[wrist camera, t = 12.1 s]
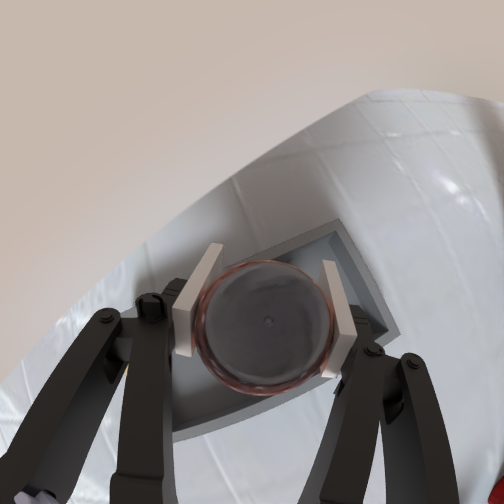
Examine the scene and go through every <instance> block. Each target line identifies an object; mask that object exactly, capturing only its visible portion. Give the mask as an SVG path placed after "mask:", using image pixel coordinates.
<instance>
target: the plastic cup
mask: <svg viewBox="0 0 504 504" xmlns="http://www.w3.org/2000/svg"><path fill="white" fill-rule="evenodd" d="M488 503H489V504H504V476H503V477H502V478H501V480H500V481H499V482H498V483H497V485H496V486H495V487H494V489H493V491H492V492H491V494H490V496H489V499H488Z"/></svg>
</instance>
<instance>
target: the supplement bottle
mask: <svg viewBox="0 0 504 504" xmlns="http://www.w3.org/2000/svg"><path fill="white" fill-rule="evenodd" d="M194 338H195V344H196V347H197V352H198V354H199V356H200V358H201V360H202V361H203V363H204V365H205V366H206V368H207V369H208V370H209V371H210V373H211V374H212V375H213V376H214V377H215V378H216V379H217V380H218V381H220V382H221V383H222V384H224V385H226V386H227V387H229V388H231V389H233V390H235V391H238V392H241V393H244V394H248V395H253V396H271V395H277V394H282V393H285V392H288V391H290V390H293V389H295V388H297V387H299V386H300V385H301V384H303V383H305V382H306V381H308V380H309V379H310V378H311V377H312V376H313V375H314V374H315V373H316V372H317V370H318V369H319V368H320V367H321V365H322V364H323V362H324V360H325V359H326V357H327V355H328V352H329V350H330V346H331V342H332V338H333V318H332V313H331V309H330V306H329V303H328V301H327V299H326V297H325V295H324V293H323V291H322V290H321V288H320V287H319V286H318V284H317V283H316V282H315V281H314V280H313V279H312V278H311V277H310V276H308V275H307V274H306V273H304V272H303V271H301V270H299V269H298V268H296V267H294V266H292V265H289V264H286V263H283V262H279V261H273V260H255V261H249V262H245V263H241V264H239V265H236V266H234V267H232V268H230V269H228V270H227V271H225V272H224V273H222V274H221V275H220V276H218V277H217V278H216V279H215V280H214V281H213V282H212V283H211V284H210V285H209V287H208V288H207V290H206V291H205V292H204V294H203V295H202V297H201V299H200V301H199V304H198V307H197V310H196V315H195V320H194Z"/></svg>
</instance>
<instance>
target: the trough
mask: <svg viewBox="0 0 504 504" xmlns="http://www.w3.org/2000/svg"><path fill="white" fill-rule="evenodd" d="M255 260H273V261H279V262H283V263H286V264H289V265H292V266H294V267H296V268H298V269H299V270H301V271H303V272H304V273H306V274H307V275H308V276H310V277H311V278H312V279H313V280H314V281H315V282H316V283H317V280H318V276H319V272H320V268H321V264H322V260H328V261H335V264H336V267H337V270H338V273H339V276H340V279H341V282H342V285H343V288H344V292H345V295H346V298H347V301H348V304H352V305H359V306H360V307H361V309H362V310H363V311H364V312H365V315H366V318H367V321H368V325H369V327H370V330H371V332H372V335H373V339H374V342H376V343H378V344H379V345H381V346H382V347H384V346H385V345H387V344H388V343H389V342H391V341H392V340H394V339H395V338H396V337H398V336H399V335H401V334H400V332H399V329H398V327H397V325H396V323H395V321H394V319H393V317H392V314H391V312H390V310H389V308H388V306H387V304H386V302H385V300H384V298H383V296H382V294H381V292H380V290H379V288H378V286H377V284H376V283H375V281H374V279H373V277H372V275H371V273H370V271H369V269H368V267H367V266H366V264H365V262H364V260H363V258H362V257H361V255H360V253H359V251H358V249H357V248H356V246H355V244H354V243H353V241H352V239H351V237H350V236H349V234H348V232H347V231H346V229H345V227H344V226H343V224H342V222H341V221H340V219H339V218H338V219H336V220H334V221H332V222H329V223H327V224H325V225H322V226H320V227H318V228H316V229H313V230H311V231H309V232H306V233H304V234H302V235H300V236H297V237H295V238H293V239H290V240H288V241H286V242H284V243H281V244H279V245H277V246H274V247H272V248H270V249H268V250H265V251H263V252H261V253H258V254H256V255H254V256H251V257H249V258H247V259H245V260H242V261H240V262H238V263H235V264H233V265H231V266H228V267H226V268H224V269H222V273H224V272H225V271H227V270H228V269H230V268H232V267H234V266H236V265H239V264H241V263H245V262H249V261H255ZM120 315H121V317H122V318H135V317H138V315H137V309H136V307H133V308H131V309H129V310H126V311H124V312H122V313H120ZM127 370H128V366H127V368H126V370H125V375H126V376H127ZM339 374H341V370H340V372H339ZM339 374H338V375H339ZM330 379H332V378H329V377H321V370H320V368H319V369H318V370H317V372H316V373H315V374H314V375H313V376H312V377H311V378H310V379H309V380H308V381H306V382H305V383H303V384H301V385H300V386H299V387H297V388H295V389H293V390H290V391H288V392H285V393H282V394H277V395H271V396H253V395H248V394H244V393H241V392H238V391H235V390H233V389H231V388H229V387H227V386H226V385H224V384H222V383H221V382H220V381H218V380H217V379H216V378H215V377H214V376H213V375H212V374H211V373H210V371H209V370H208V369H207V368H206V366H205V365H204V363H203V361H202V360H201V358H200V356H199V354H198V352H197V347H195V350H194V352H193V355H192V357H188V356H184V355H179V354H176V351H175V347H174V349H173V351H172V439H173V443H175V442H179V441H183V440H186V439H190V438H193V437H197V436H200V435H203V434H206V433H209V432H212V431H215V430H218V429H221V428H224V427H227V426H230V425H232V424H235V423H238V422H240V421H243V420H245V419H248V418H251V417H253V416H255V415H258V414H260V413H263V412H265V411H267V410H270V409H272V408H274V407H276V406H279V405H281V404H283V403H285V402H287V401H289V400H291V399H294V398H296V397H298V396H300V395H302V394H304V393H306V392H308V391H310V390H312V389H313V388H315V387H317V386H319V385H321V384H323V383H325V382H327V381H328V380H330Z"/></svg>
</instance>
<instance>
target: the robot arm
mask: <svg viewBox="0 0 504 504" xmlns="http://www.w3.org/2000/svg"><path fill="white" fill-rule="evenodd" d="M223 250H224V244H219V243H211V244H210V246H209V247H208V249H207V251H206V252H205V254H204V255H203V257H202V259H201V260H200V262H199V263H198V265H197V267H196V268H195V270H194V272H193V273H192V275H191V276H190V278H189V280H185V279H179V278H176V279H174V280H172V281H171V282H169V284H168V285H167V286H166V288H165V289H164V291H163V292H162V294H161V295H160V294H157V293H146V294H143V295H141V296H140V297H138V298H137V300H136V301H135V303H136V309H137V315H138V317H135V318H122V317H121V315H120V312H119V311H118V310H116V309H114V308H103V309H101V310H98V311H97V312H96V313H95V314H94V315H93V316H92V317H91V319H90V320H89V321H88V323H87V324H86V325H85V327H84V328H83V329H82V331H81V332H80V333H79V335H78V336H77V338H76V339H75V340H74V342H73V343H72V345H71V346H70V347H69V349H68V350H67V352H66V353H65V354H64V356H63V357H62V359H61V360H60V362H59V363H58V365H57V366H56V368H55V369H54V371H53V372H52V374H51V375H50V377H49V378H48V380H47V381H46V383H45V385H44V386H43V388H42V389H41V391H40V393H39V394H38V396H37V397H36V399H35V401H34V402H33V404H32V406H31V408H30V409H29V411H28V413H27V414H26V416H25V418H24V420H23V422H22V423H21V425H20V427H19V429H18V431H17V433H16V435H15V436H14V438H13V440H12V442H11V444H10V446H9V448H8V450H7V452H6V453H5V454H4V455H3V456H2V457H1V458H0V504H66V503H67V501H68V500H69V498H70V497H71V495H72V493H73V490H74V488H75V486H76V483H77V481H78V478H79V475H80V473H81V470H82V467H83V465H84V462H85V460H86V457H87V455H88V452H89V450H90V447H91V445H92V442H93V440H94V438H95V435H96V433H97V431H98V428H99V426H100V424H101V421H102V419H103V417H104V415H105V413H106V410H107V408H108V406H109V404H110V402H111V399H112V397H113V395H114V393H115V391H116V389H117V387H118V384H119V382H120V380H121V378H122V376H123V374H124V372H125V370H126V368H127V366H128V370H127V376H126V382H125V389H124V396H123V404H122V412H121V420H120V430H119V442H118V456H117V469H116V472H115V473H114V474H113V475H112V477H111V480H110V504H178V500H177V495H176V488H175V476H174V460H173V439H172V351H173V349H174V347H175V351H176V354H179V355H184V356H188V357H192V355H193V352H194V350H195V347H196V344H195V338H194V320H195V315H196V310H197V307H198V304H199V301H200V299H201V297H202V295H203V294H204V292H205V291H206V290H207V288H208V287H209V285H210V284H211V283H212V282H213V281H214V280H215V279H216V278H217V277H218V276H220V275H221V274H222V263H223ZM317 284H318V286H319V287H320V288H321V290H322V291H323V293H324V295H325V297H326V299H327V301H328V303H329V306H330V309H331V313H332V318H333V338H332V342H331V346H330V350H329V352H328V355H327V357H326V359H325V360H324V362H323V364H322V365H321V367H320V370H321V377H329V378H337V376H338V374H339V372H340V370H341V375H342V378H341V380H340V382H339V384H338V386H337V387H336V389H335V391H334V393H333V394H336V395H335V399H334V402H333V406H332V409H331V413H330V416H329V419H328V423H327V426H326V429H325V432H324V435H323V438H322V441H321V444H320V447H319V450H318V453H317V456H316V459H315V461H314V464H313V467H312V469H311V472H310V475H309V477H308V480H307V482H306V484H305V487H304V489H303V492H302V494H301V496H300V499H299V501H298V503H297V504H363V499H364V496H365V492H366V488H367V484H368V480H369V476H370V471H371V467H372V462H373V457H374V452H375V447H376V441H377V435H378V428H379V421H380V425H381V433H382V443H383V453H384V465H385V482H386V504H459V496H458V488H457V481H456V475H455V469H454V464H453V459H452V454H451V449H450V445H449V440H448V436H447V432H446V428H445V424H444V421H443V417H442V414H441V410H440V407H439V403H438V400H437V397H436V394H435V391H434V387H433V384H432V382H431V379H430V376H429V373H428V370H427V367H426V365H425V362H424V361H423V359H422V358H421V357H420V356H418V355H416V354H414V353H405V354H404V355H402V357H401V359H398V358H394V357H391V356H388V355H386V354H385V350H384V349H383V348H382V346H381V345H379V344H378V343H376V342H374V339H373V335H372V332H371V330H370V327H369V325H368V321H367V318H366V315H365V312H364V311H363V310H362V309H361V307H360V306H359V305H352V304H348V301H347V298H346V295H345V292H344V288H343V285H342V282H341V279H340V276H339V273H338V270H337V267H336V264H335V261H328V260H322V264H321V268H320V272H319V276H318V280H317Z"/></svg>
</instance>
